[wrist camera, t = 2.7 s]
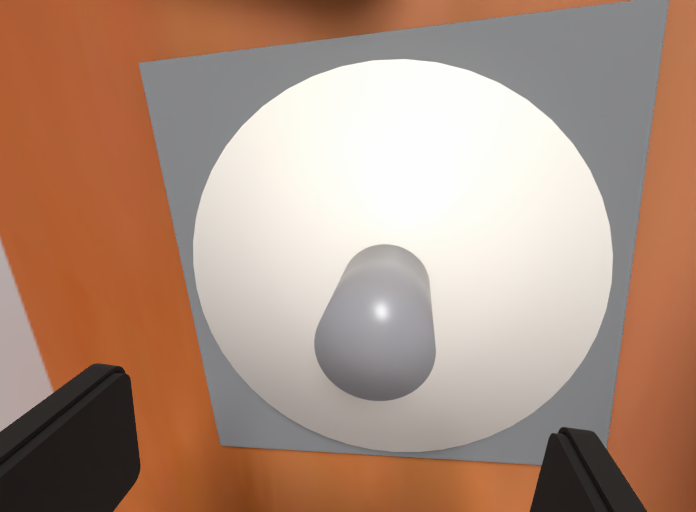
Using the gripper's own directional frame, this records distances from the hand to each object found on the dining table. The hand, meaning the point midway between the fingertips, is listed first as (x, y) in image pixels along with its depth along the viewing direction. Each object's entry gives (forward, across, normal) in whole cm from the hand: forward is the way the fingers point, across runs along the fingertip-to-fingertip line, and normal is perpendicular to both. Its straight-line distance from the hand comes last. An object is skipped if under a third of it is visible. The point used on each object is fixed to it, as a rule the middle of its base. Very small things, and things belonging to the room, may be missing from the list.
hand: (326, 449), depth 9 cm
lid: (+9, -1, -1) cm, 9 cm away
